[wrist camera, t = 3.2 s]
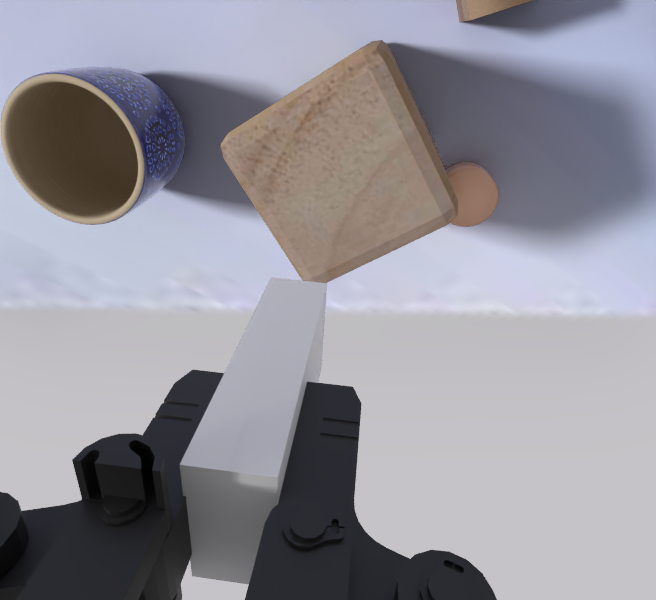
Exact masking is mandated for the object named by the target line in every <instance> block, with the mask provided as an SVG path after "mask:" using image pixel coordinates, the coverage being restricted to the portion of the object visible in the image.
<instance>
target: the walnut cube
mask: <svg viewBox="0 0 656 600" xmlns="http://www.w3.org/2000/svg"><path fill="white" fill-rule="evenodd" d="M529 1H532V0H456V2H457V9H458V15H459V21H460V22H463V21H469V20H473V19H476V18H479V17H482V16H485V15H489V14H492V13H495V12H498V11H501V10H504V9H507V8H510V7H513V6H516V5H520V4H523V3H526V2H529Z"/></svg>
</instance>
